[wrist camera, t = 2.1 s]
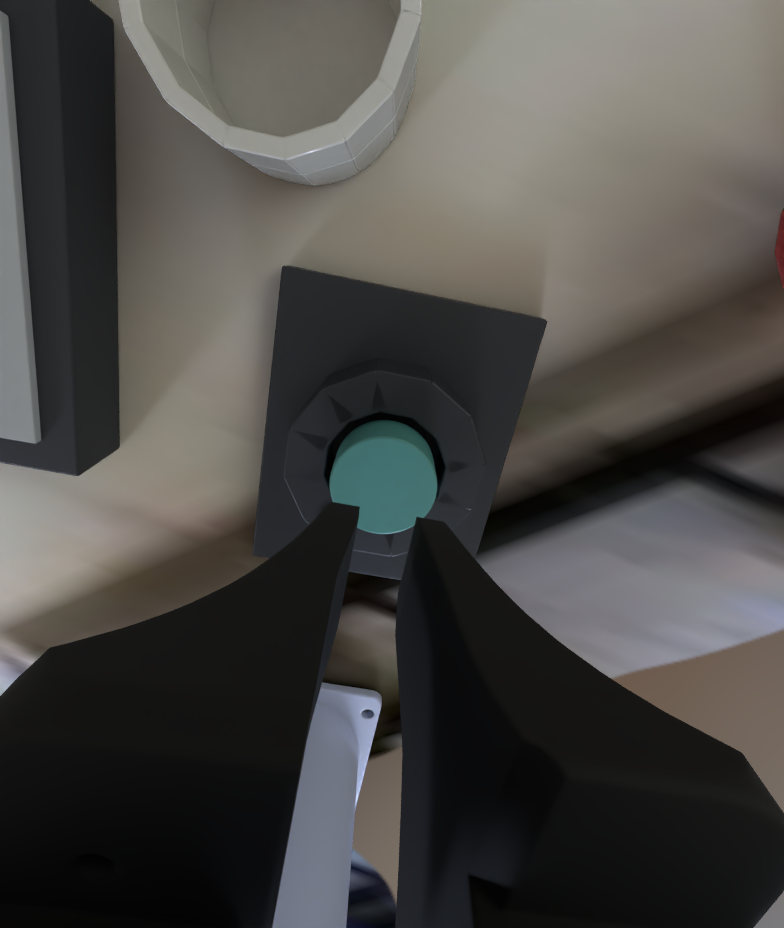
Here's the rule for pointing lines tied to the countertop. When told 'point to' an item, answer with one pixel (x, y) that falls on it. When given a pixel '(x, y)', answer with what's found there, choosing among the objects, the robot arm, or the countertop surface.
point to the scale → (57, 236)
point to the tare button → (385, 476)
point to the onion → (780, 248)
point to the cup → (284, 76)
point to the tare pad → (388, 402)
